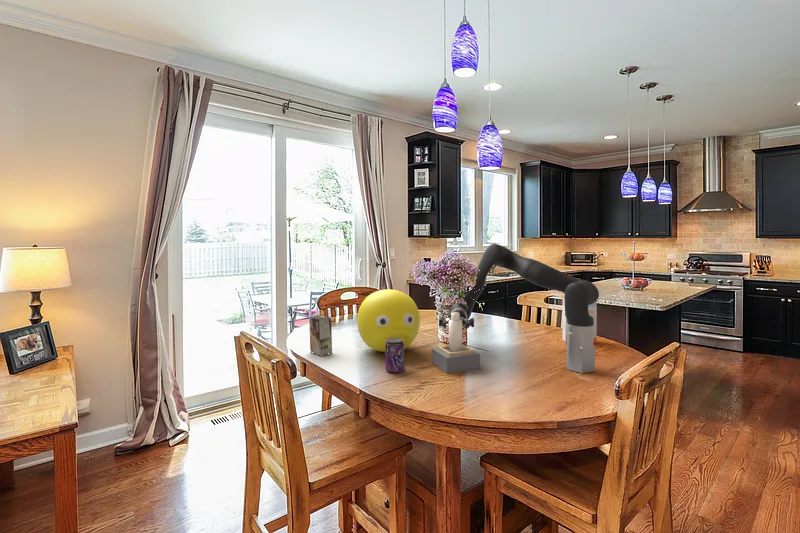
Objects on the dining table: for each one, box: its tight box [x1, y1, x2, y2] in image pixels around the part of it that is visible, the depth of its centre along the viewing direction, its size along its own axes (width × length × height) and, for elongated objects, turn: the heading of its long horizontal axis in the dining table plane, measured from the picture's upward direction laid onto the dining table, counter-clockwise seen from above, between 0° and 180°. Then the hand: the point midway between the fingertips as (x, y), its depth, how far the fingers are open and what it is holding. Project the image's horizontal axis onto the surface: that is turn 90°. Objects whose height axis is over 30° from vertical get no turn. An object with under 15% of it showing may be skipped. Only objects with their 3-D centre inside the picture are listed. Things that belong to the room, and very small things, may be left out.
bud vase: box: [448, 312, 463, 352], centre depth 165 cm, size 5×5×15 cm
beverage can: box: [384, 338, 405, 373], centre depth 160 cm, size 7×7×12 cm
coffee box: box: [308, 314, 333, 356], centre depth 186 cm, size 9×6×16 cm
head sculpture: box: [356, 288, 421, 353], centre depth 187 cm, size 28×28×28 cm
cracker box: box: [562, 297, 598, 344], centre depth 198 cm, size 14×6×21 cm, turn 84°
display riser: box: [431, 344, 481, 374], centre depth 165 cm, size 14×14×7 cm
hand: (455, 325), depth 166 cm, fingers open, 8 cm apart
